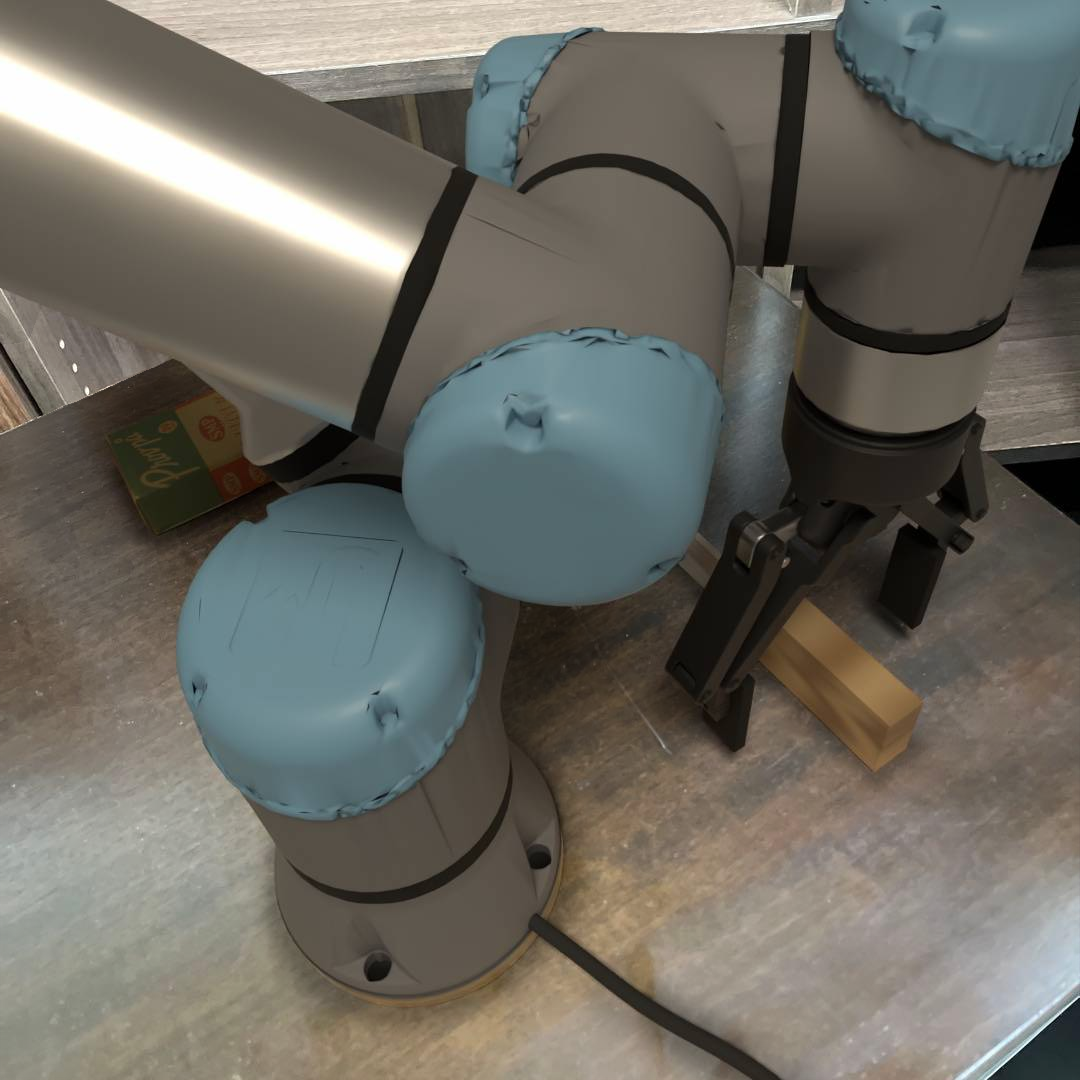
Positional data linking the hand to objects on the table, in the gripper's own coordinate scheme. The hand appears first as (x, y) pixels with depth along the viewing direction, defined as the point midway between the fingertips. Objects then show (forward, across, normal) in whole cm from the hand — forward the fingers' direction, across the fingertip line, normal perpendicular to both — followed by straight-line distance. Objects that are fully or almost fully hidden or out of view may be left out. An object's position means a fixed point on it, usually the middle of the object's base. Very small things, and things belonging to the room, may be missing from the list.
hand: (814, 670), depth 57 cm
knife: (+3, -1, -4) cm, 5 cm away
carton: (+3, +20, -41) cm, 46 cm away
